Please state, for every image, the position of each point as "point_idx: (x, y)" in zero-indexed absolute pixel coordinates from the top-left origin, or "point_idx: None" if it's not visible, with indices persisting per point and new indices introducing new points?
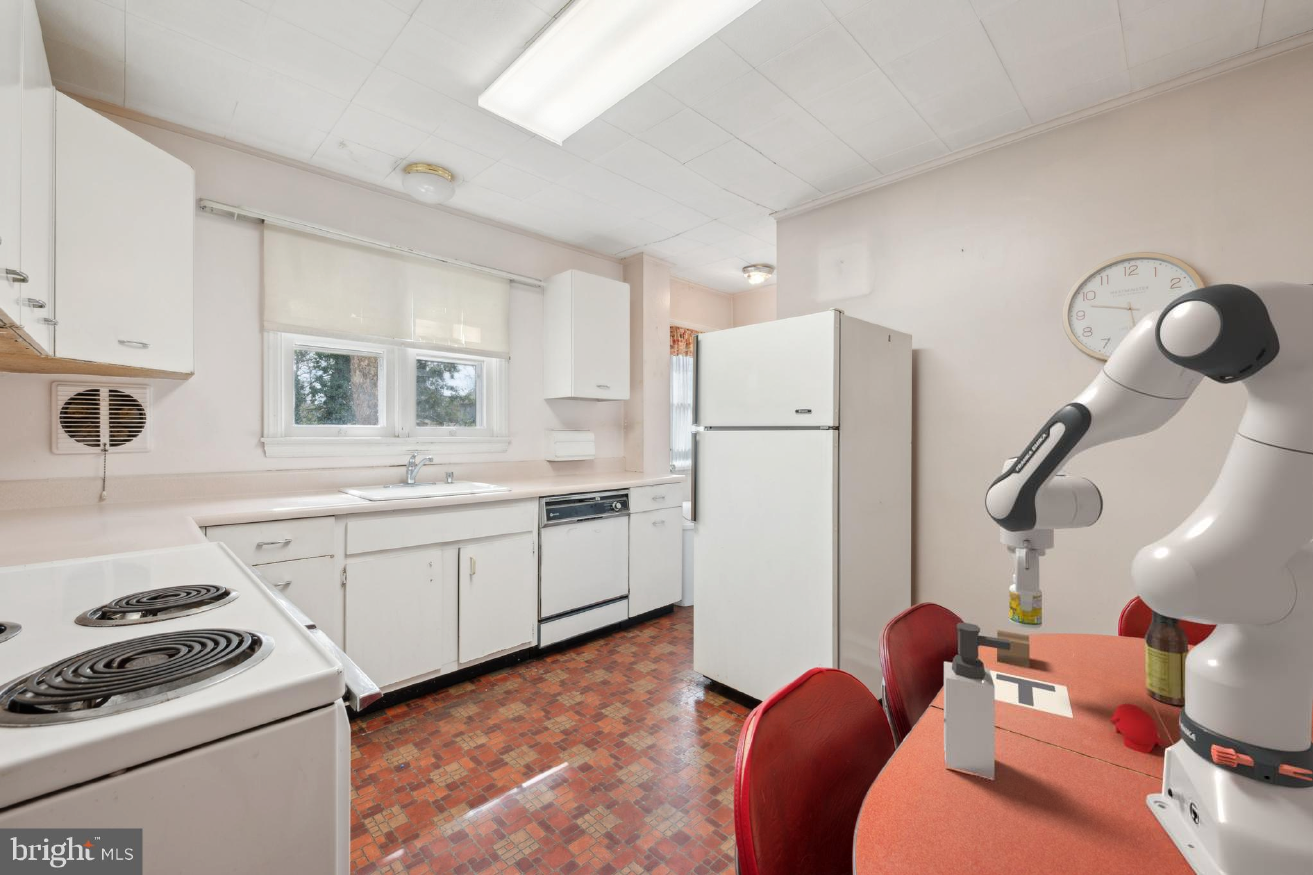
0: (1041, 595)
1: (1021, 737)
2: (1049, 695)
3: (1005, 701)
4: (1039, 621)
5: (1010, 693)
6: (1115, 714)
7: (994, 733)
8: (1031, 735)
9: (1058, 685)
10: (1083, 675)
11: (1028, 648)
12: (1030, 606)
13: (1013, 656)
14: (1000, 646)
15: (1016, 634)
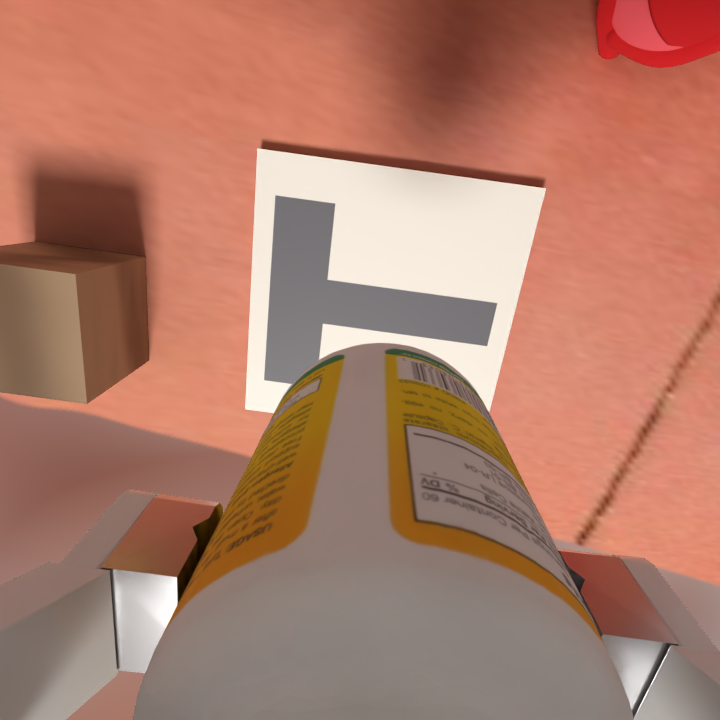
0: (477, 547)
1: (701, 367)
2: (378, 232)
3: (491, 382)
4: (463, 387)
5: None
6: (699, 37)
7: None
8: (681, 338)
9: (261, 178)
10: (58, 37)
11: (90, 275)
12: (667, 604)
13: (123, 320)
14: None
15: None
